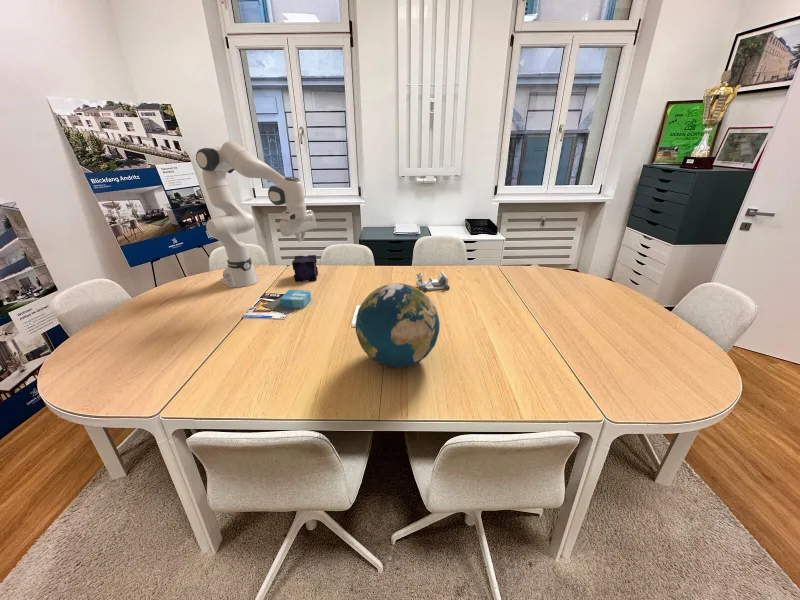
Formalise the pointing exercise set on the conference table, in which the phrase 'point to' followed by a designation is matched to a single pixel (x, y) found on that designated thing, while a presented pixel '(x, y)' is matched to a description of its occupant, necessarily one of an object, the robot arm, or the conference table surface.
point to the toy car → (433, 282)
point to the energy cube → (305, 268)
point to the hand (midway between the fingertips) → (301, 240)
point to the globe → (397, 325)
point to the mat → (279, 307)
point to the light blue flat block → (295, 298)
